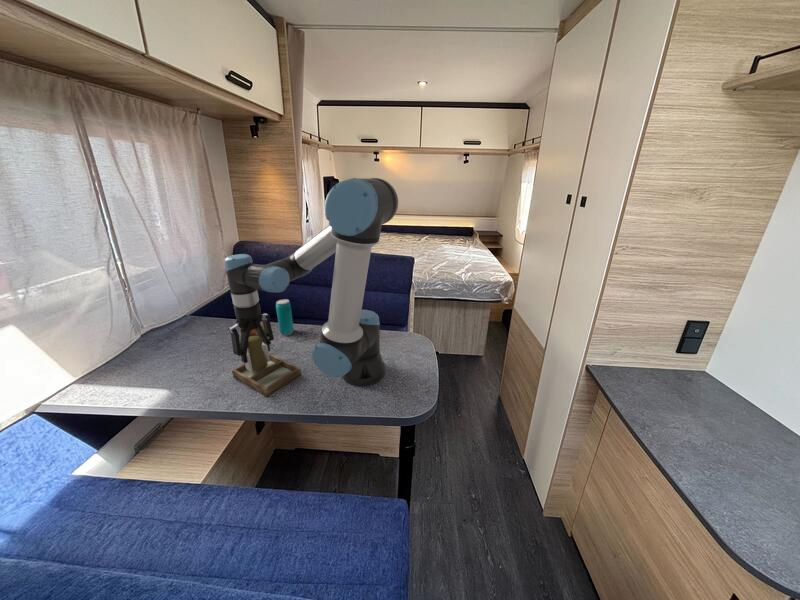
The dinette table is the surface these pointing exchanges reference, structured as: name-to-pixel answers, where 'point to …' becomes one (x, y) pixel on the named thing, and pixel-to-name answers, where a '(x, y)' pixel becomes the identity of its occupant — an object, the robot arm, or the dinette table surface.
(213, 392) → the dinette table surface
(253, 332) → the bread roll
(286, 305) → the beverage can
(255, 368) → the olive rounded lobed piece
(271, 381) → the tray
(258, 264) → the robot arm
